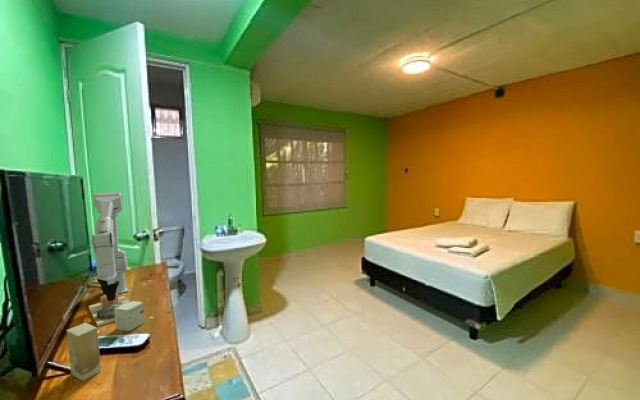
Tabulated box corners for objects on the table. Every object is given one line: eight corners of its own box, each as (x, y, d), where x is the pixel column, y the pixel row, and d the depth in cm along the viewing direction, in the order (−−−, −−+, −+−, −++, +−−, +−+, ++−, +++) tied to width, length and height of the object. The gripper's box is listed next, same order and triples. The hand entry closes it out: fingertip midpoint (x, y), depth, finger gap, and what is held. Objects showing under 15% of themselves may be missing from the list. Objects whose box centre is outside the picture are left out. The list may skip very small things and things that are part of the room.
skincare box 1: (70, 374, 75) (64, 329, 74) (89, 364, 79) (85, 321, 78) (82, 382, 72) (77, 335, 71) (102, 371, 76) (97, 327, 75)
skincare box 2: (129, 331, 95) (127, 310, 94) (115, 329, 97) (113, 308, 96) (145, 322, 101) (143, 302, 100) (132, 320, 102) (130, 300, 102)
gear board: (88, 308, 113) (87, 297, 112) (125, 298, 121) (124, 287, 121) (97, 326, 99) (96, 314, 98) (137, 313, 107) (136, 302, 107)
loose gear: (100, 305, 113) (99, 295, 112) (117, 300, 116) (116, 291, 116) (103, 309, 109) (101, 299, 108) (120, 304, 113) (119, 295, 112)
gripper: (89, 262, 113) (93, 295, 114) (95, 270, 103) (100, 306, 104) (111, 257, 118) (114, 289, 119) (119, 265, 108) (123, 300, 109)
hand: (109, 297), depth 112 cm, fingers open, 7 cm apart
